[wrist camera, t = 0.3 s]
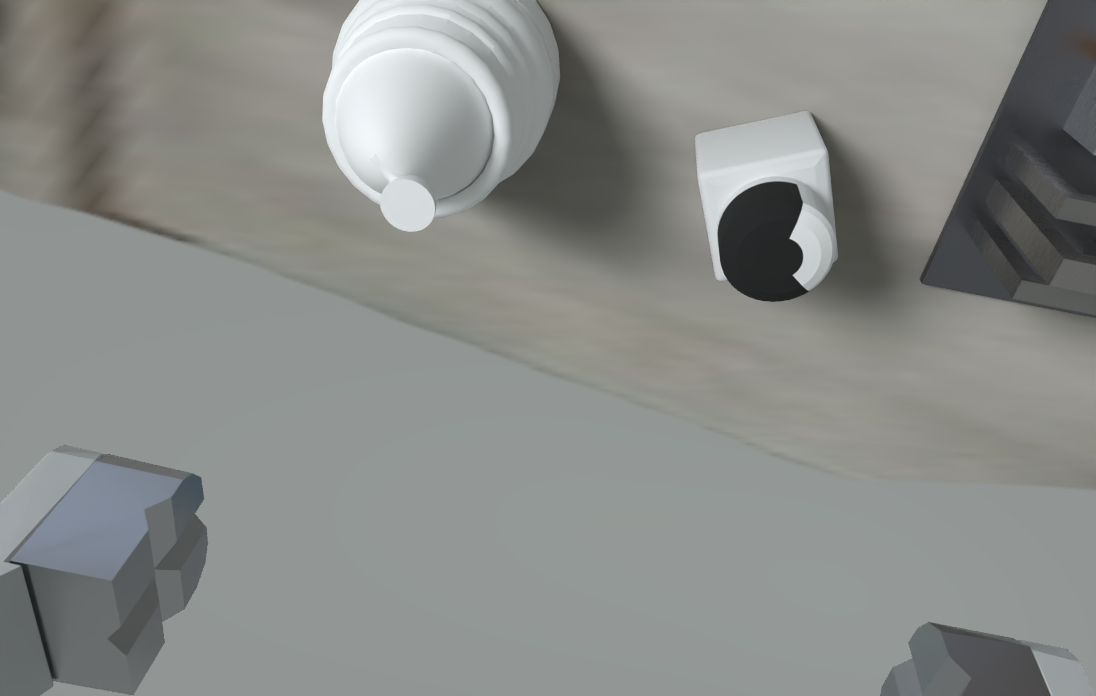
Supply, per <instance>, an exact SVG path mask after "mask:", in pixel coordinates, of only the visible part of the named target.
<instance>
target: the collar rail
mask: <svg viewBox="0 0 1096 696" xmlns="http://www.w3.org/2000/svg"><path fill="white" fill-rule="evenodd" d="M1095 64H1096V0H1048V2H1047V4H1046V6H1045V8H1044V10H1043V12H1042V15H1041V17H1040V19H1039V21H1038V23H1037V26H1036V28H1035V30H1034V32H1033V34H1032V36H1031V39H1030V41H1029V43H1028V45H1027V47H1026V49H1025V52H1024V54H1023V56H1022V58H1021V60H1020V62H1019V65H1018V67H1017V69H1016V71H1015V73H1014V76H1013V78H1012V80H1011V82H1010V84H1009V86H1008V89H1007V91H1006V93H1005V95H1004V97H1003V99H1002V102H1001V104H1000V106H999V108H998V110H997V113H996V115H995V117H994V119H993V121H992V123H991V126H990V128H989V130H988V132H987V134H986V136H985V139H984V141H983V143H982V145H981V147H980V150H979V152H978V154H977V156H976V158H975V160H974V163H973V165H972V167H971V169H970V171H969V173H968V176H967V178H966V180H965V182H964V184H963V187H962V189H961V191H960V193H959V195H958V197H957V200H956V202H955V204H954V206H953V208H952V210H951V213H950V215H949V217H948V219H947V221H946V224H945V226H944V228H943V230H942V232H941V234H940V237H939V239H938V241H937V243H936V245H935V247H934V250H933V252H932V254H931V256H930V258H929V261H928V263H927V265H926V267H925V269H924V271H923V274H922V276H921V278H920V280H921V282H922V284H927V285H932V286H937V287H942V288H947V289H952V290H957V291H963V292H968V293H973V294H978V295H983V296H988V297H993V298H998V299H1003V300H1008V301H1013V302H1018V303H1024V304H1029V305H1034V306H1039V307H1044V308H1049V309H1054V310H1059V311H1064V312H1069V313H1074V314H1079V315H1084V316H1090V317H1095V318H1096V155H1093V154H1092V153H1091V152H1089V151H1088V150H1087V149H1086V148H1085V147H1084V146H1082V145H1081V144H1080V143H1079V142H1078V141H1076V140H1075V139H1074V138H1073V137H1072V136H1071V135H1069V134H1068V133H1067V132H1066V131H1065V130H1064V129H1063V127H1064V125H1065V123H1066V121H1067V119H1068V117H1069V116H1070V114H1071V112H1072V110H1073V108H1074V106H1075V104H1076V102H1077V100H1078V98H1079V96H1080V94H1081V92H1082V90H1083V88H1084V86H1085V84H1086V82H1087V80H1088V78H1089V76H1090V74H1091V72H1092V70H1093V68H1094V66H1095Z"/></svg>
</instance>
